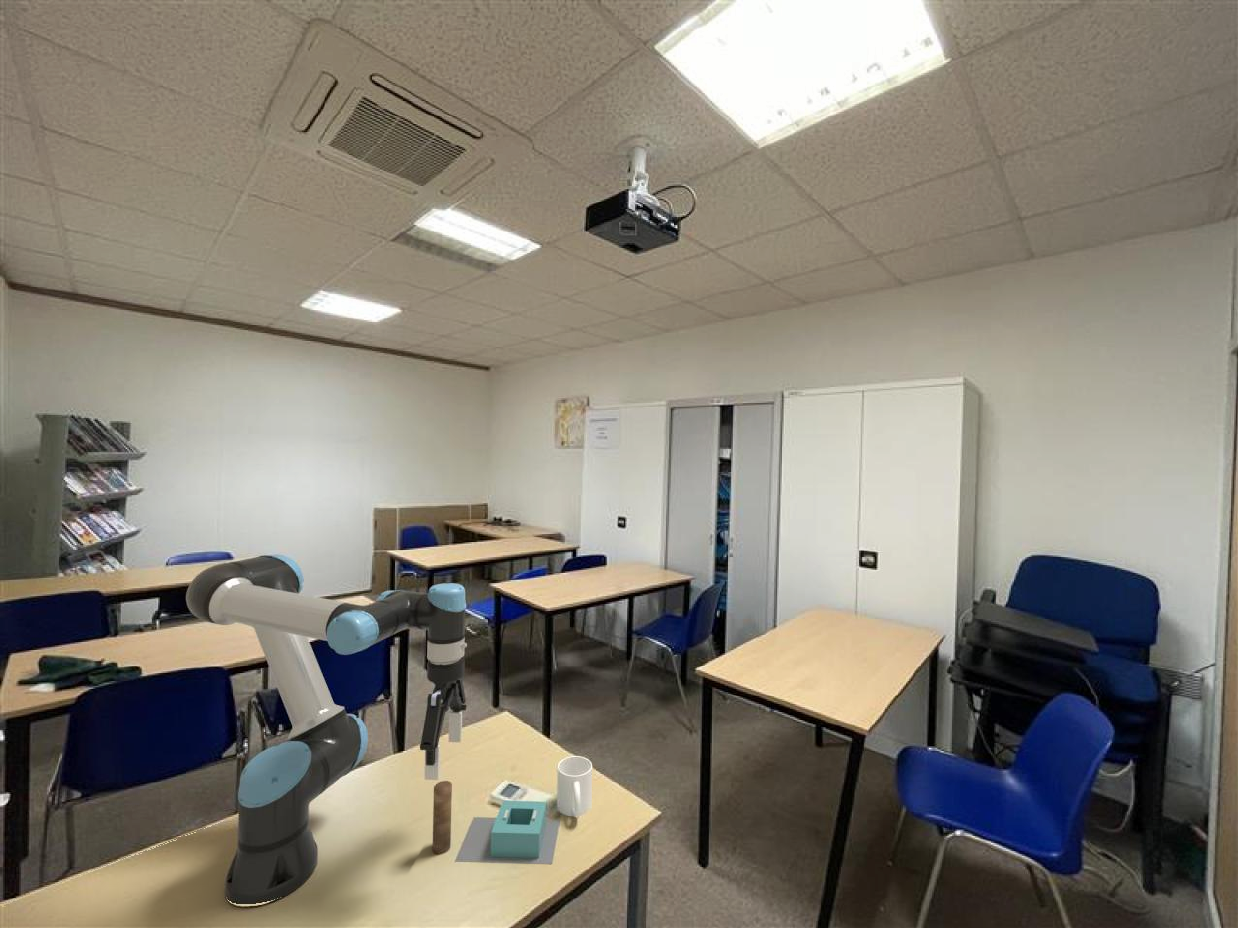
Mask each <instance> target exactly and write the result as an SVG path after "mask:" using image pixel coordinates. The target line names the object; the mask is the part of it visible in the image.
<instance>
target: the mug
mask: <svg viewBox="0 0 1238 928" xmlns="http://www.w3.org/2000/svg"><path fill="white" fill-rule="evenodd" d="M556 783H557V784H556V787H557V788H556V791H557V792H556V808H557V807H558V808H557V810H558V812H559V813H560V814H562V815H564V816H568V817H574V818H575V819H578V818H580V816H582V815H585V814H586V813H588V811H590V809H591V807H592V795H593V794H592V790H593V787H592V785H593V763H592V762H591V760H590V759H588V758H587V757H584V756H582V755H581V756H580V755H572V756H571V755H570V756H567V757H565V758H563V759H561V760H560V761H559V762H558V764H557V782H556Z"/></svg>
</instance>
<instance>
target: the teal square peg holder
mask: <svg viewBox="0 0 1238 928" xmlns="http://www.w3.org/2000/svg"><path fill="white" fill-rule="evenodd" d="M547 803H548V802H547V801H536V800H535V801H534V800H533V801H531V800H505V799H504V800H502V801H501V804H500V808H499V810H498V813H497V815H496V817H495V818H496V821H495V824H494V826H493V829H492V832H491V857H521V858H539V855H540V850H541V845H542V841H543V836H544V832H545V827H546V819H547V809H548V808H547V807H548V806H547Z"/></svg>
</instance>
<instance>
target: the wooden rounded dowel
mask: <svg viewBox="0 0 1238 928" xmlns="http://www.w3.org/2000/svg"><path fill="white" fill-rule="evenodd" d="M452 786H453V784H452V782H450V781H448V780H443V781H440V782H438V783H436V784H435V785H434V786H433V811H432V813H433V815H432V817H433V818H432V848H431V849H432V854H435V855H439V856H440V855H444V854H445V853H448V852H449V851H450V849H451V842H452V841H451V839H452V838H451V835H452V834H451V833H452V800H453V798H452V793H453V792H452V790H453V789H452V788H453V787H452Z"/></svg>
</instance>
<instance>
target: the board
mask: <svg viewBox="0 0 1238 928" xmlns="http://www.w3.org/2000/svg"><path fill="white" fill-rule="evenodd" d="M496 818H497V817H488V816H487V817H484V816H482V817H480V816H479V817H478V816H473V818H472V821H471V822H470V825H469V827H468V830H467V832H466V834H465V837H464V838H463V841H462V843H461V846H460V849H459V850H458V853H457V856H456V858H455V860H454V862H455V863H456V862H459V863H461V862H463V863H492V864H527V865H553V861H554V858H555V857H554V856H555V850H556V845H557V840H558V839H557V838H558V834H559V828H560V822H561V819H557V818H556V819H555V818H554V819H553V818H552V819H551V818H546V827H545V832H544V836H543V841H542V845H541V850H540V855H539V858H521V857H491V832H492V829H493V826H494V824H495V821H496Z"/></svg>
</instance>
